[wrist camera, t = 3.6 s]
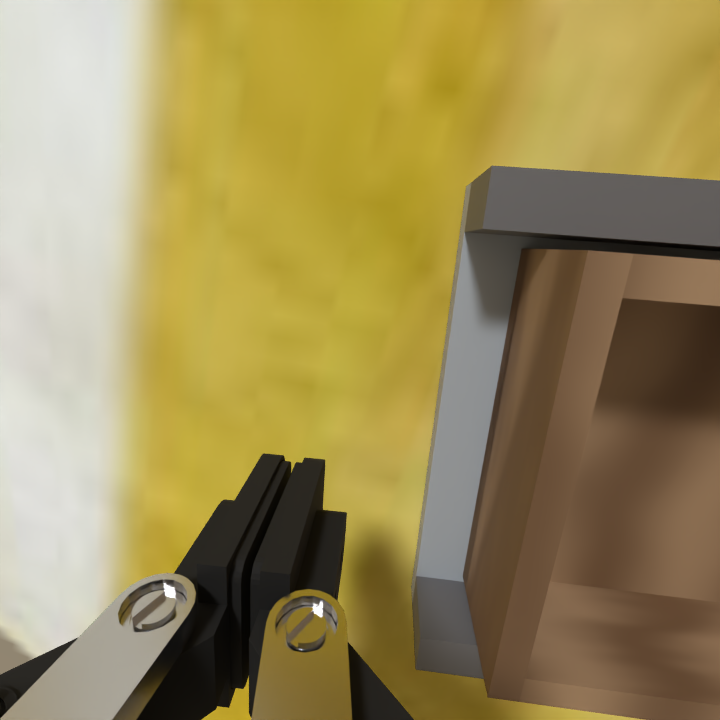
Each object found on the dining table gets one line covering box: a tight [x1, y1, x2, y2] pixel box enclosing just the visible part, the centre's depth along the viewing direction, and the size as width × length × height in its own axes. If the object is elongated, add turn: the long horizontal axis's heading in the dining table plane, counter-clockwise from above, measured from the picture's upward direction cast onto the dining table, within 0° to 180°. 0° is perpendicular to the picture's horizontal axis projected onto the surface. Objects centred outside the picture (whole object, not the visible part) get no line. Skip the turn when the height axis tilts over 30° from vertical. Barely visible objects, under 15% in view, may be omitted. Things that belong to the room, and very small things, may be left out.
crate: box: [463, 249, 720, 720], centre depth 13 cm, size 12×14×5 cm
